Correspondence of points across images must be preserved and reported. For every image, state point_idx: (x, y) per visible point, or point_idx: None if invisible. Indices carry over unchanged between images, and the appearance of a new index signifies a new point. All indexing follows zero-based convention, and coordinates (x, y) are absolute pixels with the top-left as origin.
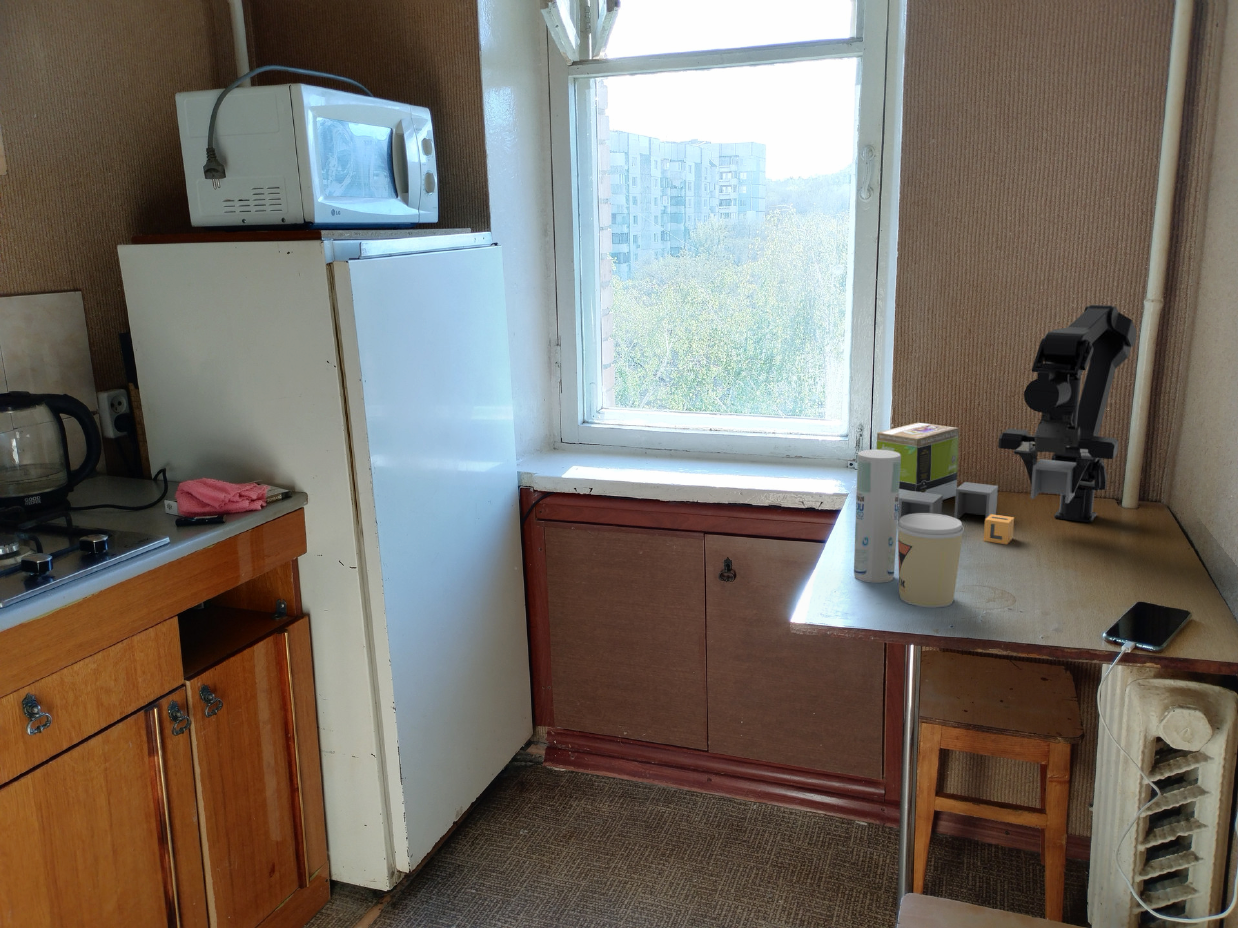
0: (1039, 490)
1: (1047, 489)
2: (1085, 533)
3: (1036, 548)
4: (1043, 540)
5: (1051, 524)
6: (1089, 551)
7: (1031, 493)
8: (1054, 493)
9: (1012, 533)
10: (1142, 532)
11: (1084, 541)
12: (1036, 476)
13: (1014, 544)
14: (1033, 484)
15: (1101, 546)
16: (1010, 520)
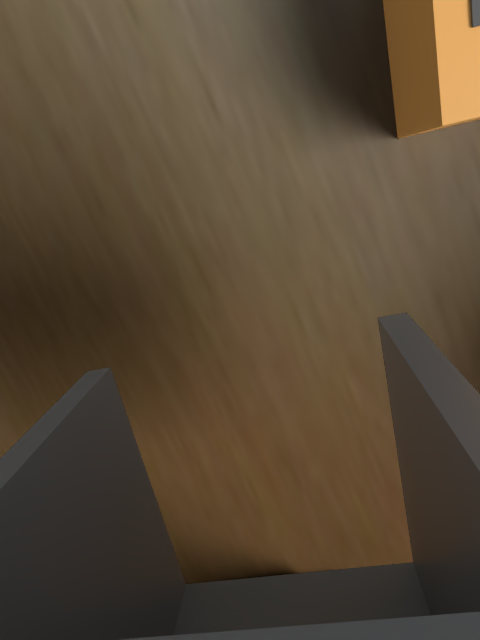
0: (415, 553)
1: (362, 594)
2: (163, 457)
3: (213, 42)
4: (251, 225)
5: (330, 496)
6: (11, 202)
7: (416, 333)
8: (301, 573)
9: (405, 125)
10: None
11: (108, 343)
12: (471, 538)
13: (343, 20)
14: (438, 384)
15: (22, 319)
16: (437, 3)
